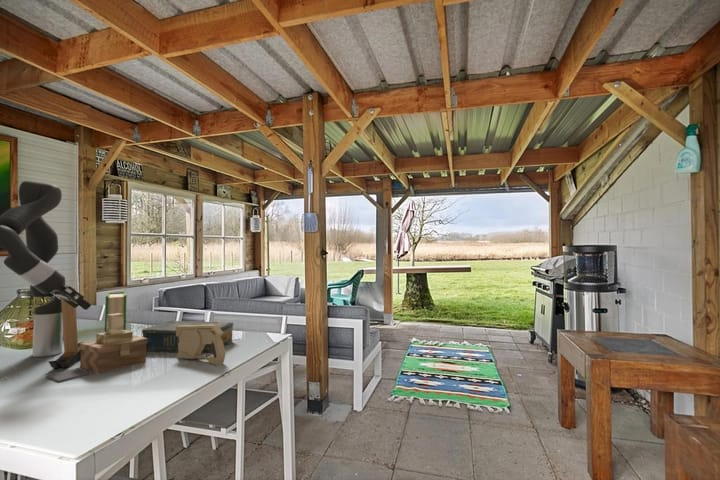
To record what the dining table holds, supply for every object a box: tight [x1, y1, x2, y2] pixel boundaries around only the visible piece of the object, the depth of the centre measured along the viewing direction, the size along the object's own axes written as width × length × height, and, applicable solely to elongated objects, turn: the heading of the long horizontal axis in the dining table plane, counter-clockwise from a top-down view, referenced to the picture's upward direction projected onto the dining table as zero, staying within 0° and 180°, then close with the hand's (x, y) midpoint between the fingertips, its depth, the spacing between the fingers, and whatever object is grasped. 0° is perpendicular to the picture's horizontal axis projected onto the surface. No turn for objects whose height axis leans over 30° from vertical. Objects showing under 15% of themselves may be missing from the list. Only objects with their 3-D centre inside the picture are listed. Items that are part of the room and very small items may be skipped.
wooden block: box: [106, 313, 124, 335], centre depth 131 cm, size 4×4×10 cm
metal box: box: [141, 320, 234, 354], centre depth 156 cm, size 21×32×10 cm, turn 85°
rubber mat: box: [45, 367, 92, 383], centre depth 118 cm, size 10×9×1 cm
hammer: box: [48, 286, 84, 369], centre depth 131 cm, size 20×5×30 cm, turn 18°
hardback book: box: [104, 291, 128, 332], centre depth 156 cm, size 18×7×24 cm, turn 35°
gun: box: [176, 325, 226, 366], centre depth 135 cm, size 24×3×15 cm, turn 65°
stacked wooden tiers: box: [79, 329, 148, 375], centre depth 130 cm, size 15×17×12 cm
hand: (82, 306), depth 122 cm, fingers open, 8 cm apart
